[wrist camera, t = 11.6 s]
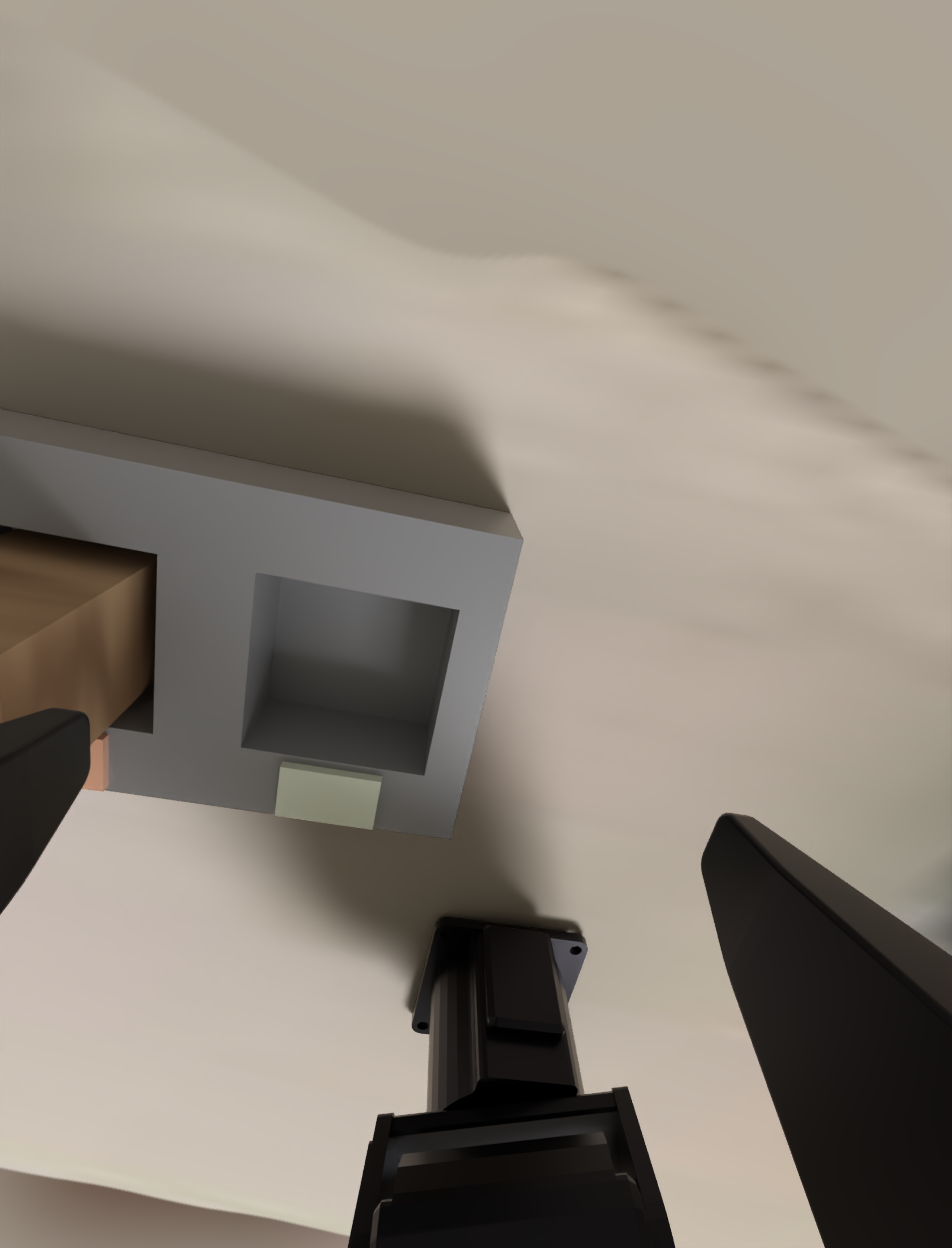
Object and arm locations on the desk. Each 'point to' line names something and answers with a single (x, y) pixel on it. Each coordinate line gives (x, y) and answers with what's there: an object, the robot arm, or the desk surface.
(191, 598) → the socket strip
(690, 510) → the desk surface
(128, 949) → the desk surface
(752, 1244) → the desk surface
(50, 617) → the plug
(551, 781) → the desk surface
